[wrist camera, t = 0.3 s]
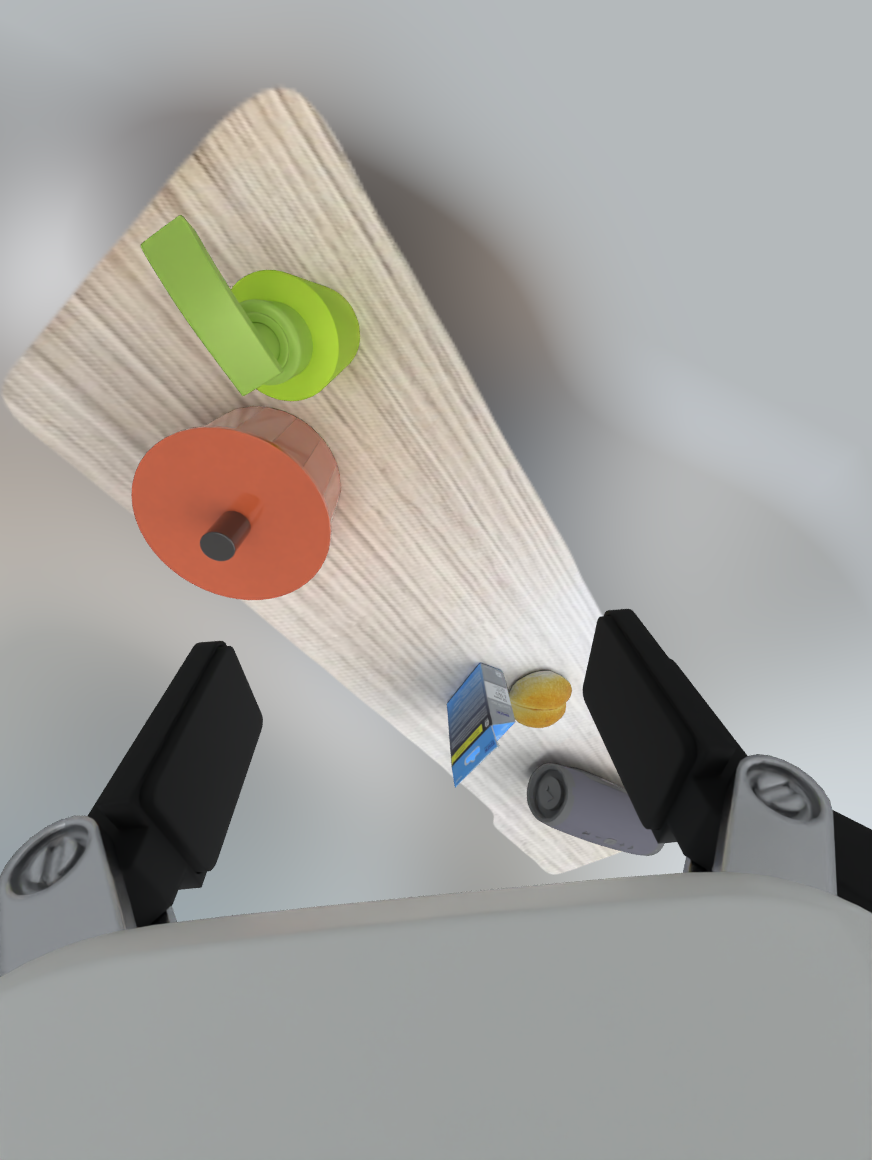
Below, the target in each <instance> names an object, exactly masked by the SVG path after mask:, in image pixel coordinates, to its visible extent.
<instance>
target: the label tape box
mask: <svg viewBox="0 0 872 1160" xmlns="http://www.w3.org/2000/svg"><path fill="white" fill-rule="evenodd" d="M447 711H448V726H449V739H450V751H451V763H452V771H453V778H454V784H455V788H456V787H457V786H458V785H459V784H460V783H461V782H462V781H463V780H464V778H465V777H467V775H469V774H470V773H471V772H472V771H473V770H474V769H475V768H476V767H477V766H478V765H479V764H480V763H481V762H482V761H483V760H484V759H485V758H486V757H487V756H488V755H489V754H490V753H491V752H492V751H493V750H495V749H496V748H497V747H499V744H498V742H497V741H498V740H499V738H500V737H501V736H502V735H503V734H504V733H505V732H506V731H507V730H508V729H509V728H510V727H511V726H512V725H513V724H514V723H515V718H514V714H513V710H512V706H511V702H510V698H509V694H508V690H507V686H506V682H505V678H504V674H503V672H502V671H500V670H498V669H496V668H493V667H491V666H488V665H485V664H482V663H480V664H479V665H478V666H477V667H476V669H475V670H474V671H473V672H472V673H471V675H470V676H469V677H468V678H467V680H466V681H465V682H464V683H463V685H462V686H461V687H460V688H459V690H458V691H457V692H456V693H455V695H454V696H453V697H452V698H451V700H450V701H449V702H448V703H447Z"/></svg>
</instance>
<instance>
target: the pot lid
mask: <svg viewBox="0 0 872 1160" xmlns="http://www.w3.org/2000/svg"><path fill="white" fill-rule="evenodd" d="M132 506H133V511H134V515H135V519H136V521H137V524H138V526H139V529H140V531H141V533H142V535H143V536H144V538H145V540H146V542H147V543H148V544H149V546H150V547H151V549H152V550H153V551H154V553H155V554H156V555H157V556H158V557H159V558H160V559H161V560H162V561H163V562H164V563H165V564H166V565H167V566H168V567H169V568H170V569H172V570H173V571H174V572H175V573H177V574H178V575H179V576H181V577H182V578H184V579H185V580H187V581H189V582H190V583H192V584H194V585H196V586H198V587H200V588H202V589H204V590H207V591H209V592H212V593H214V594H218V595H222V596H225V597H230V598H236V599H243V600H263V599H271V598H275V597H280V596H283V595H286V594H288V593H291V592H293V591H295V590H297V589H299V588H300V587H302V586H303V585H305V584H306V583H307V582H308V581H310V580H311V579H312V578H313V577H314V576H315V575H316V573H317V572H318V571H319V569H320V568H321V566H322V564H323V563H324V561H325V559H326V556H327V553H328V550H329V546H330V541H331V519H330V514H329V510H328V506H327V503H326V501H325V498H324V496H323V494H322V492H321V490H320V488H319V487H318V485H317V483H316V482H315V480H314V479H313V478H312V476H311V475H310V474H309V472H308V471H307V470H306V469H305V468H304V467H303V466H302V465H301V464H300V463H299V462H298V461H297V460H296V459H295V458H294V457H293V456H291V455H290V454H289V453H288V452H286V451H285V450H283V449H282V448H280V447H279V446H278V445H276V444H274V443H272V442H270V441H269V440H267V439H265V438H263V437H260V436H258V435H255V434H253V433H250V432H247V431H243V430H240V429H236V428H230V427H223V426H201V427H193V428H189V429H185V430H181V431H179V432H176V433H174V434H172V435H170V436H168V437H166V438H164V439H163V440H161V441H160V442H158V443H157V444H155V445H154V446H153V447H152V448H151V449H150V450H149V451H148V452H147V453H146V454H145V456H144V457H143V459H142V460H141V461H140V463H139V465H138V468H137V470H136V472H135V475H134V479H133V483H132Z"/></svg>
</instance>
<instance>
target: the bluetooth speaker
mask: <svg viewBox="0 0 872 1160" xmlns="http://www.w3.org/2000/svg"><path fill="white" fill-rule="evenodd" d="M527 802H528V805H529V808H530V810H531V812H532V814H533V815H534V816H535V818H537V819H538V820H539V821H541V822H542V823H544V824H546V825H548V826H550V827H552V828H554V829H557V830H559V831H562V832H565V833H567V834H570V835H572V836H575V837H578V838H580V839H583V840H586V841H589V842H592V843H595V844H598V845H601V846H605V847H608V848H612V849H615V850H619V851H623V852H628V853H631V854H636V855H645V856H649V855H654V854H656V853H658V852H659V851H660V850H661V849H662V847H663V846H664V844H665V843H660V844H658V843H657V841H656V839H655V837H654V835H653V833H652V830H651V829H646V828H644V826H643V825H642V823H641V821H640V819H639V817H638V815H637V813H636V811H635V809H634V807H633V804H632V802H631V800H630V798H629V796H628V794H627V791H626V790H625V789H623V788H621V787H619V786H617V785H616V784H614V783H612V782H609V781H607V780H605V779H603V778H601V777H598V776H596V775H594V774H591V773H589V772H586V771H584V770H581V769H577V768H572V767H566V766H562V765H558V764H553V763H545V764H543V765H541V766H540V767H539V768H537V769H536V770H535V771H534V772H533V774H532V775H531V777H530V780H529V783H528V787H527Z"/></svg>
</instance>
